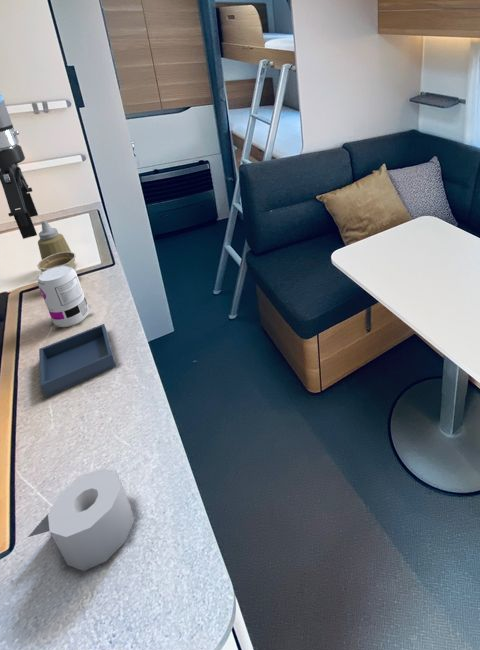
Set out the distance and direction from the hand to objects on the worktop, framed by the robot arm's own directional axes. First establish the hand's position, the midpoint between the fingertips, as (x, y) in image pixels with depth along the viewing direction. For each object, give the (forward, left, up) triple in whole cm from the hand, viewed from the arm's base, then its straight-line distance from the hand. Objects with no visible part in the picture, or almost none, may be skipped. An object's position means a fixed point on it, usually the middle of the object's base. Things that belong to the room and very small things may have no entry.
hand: (31, 226), depth 105 cm
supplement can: (+5, -3, -27) cm, 28 cm away
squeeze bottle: (-16, +19, -27) cm, 37 cm away
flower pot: (-9, +12, -27) cm, 31 cm away
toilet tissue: (+47, -50, -27) cm, 74 cm away
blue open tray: (+19, -18, -27) cm, 37 cm away
